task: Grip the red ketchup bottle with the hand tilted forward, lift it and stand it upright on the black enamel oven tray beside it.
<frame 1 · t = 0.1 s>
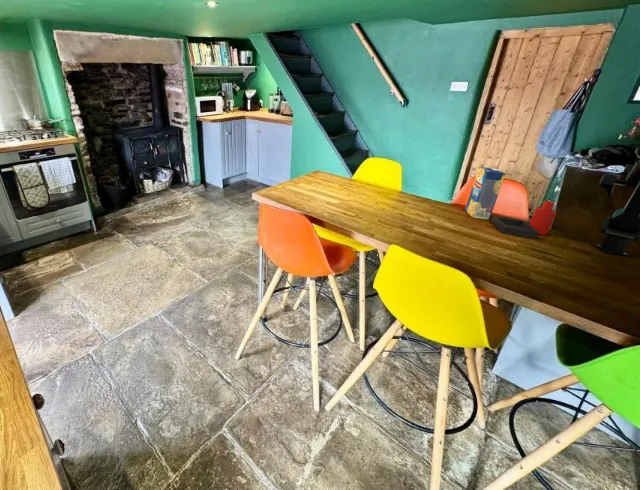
hand: (625, 199, 129), 15 cm above the worktop, tool tilted 35°, fingers open, 9 cm apart
ketchup bottle: (537, 231, 129), on the worktop
oven tray: (512, 229, 129), on the worktop
cracker box: (476, 215, 145), on the worktop
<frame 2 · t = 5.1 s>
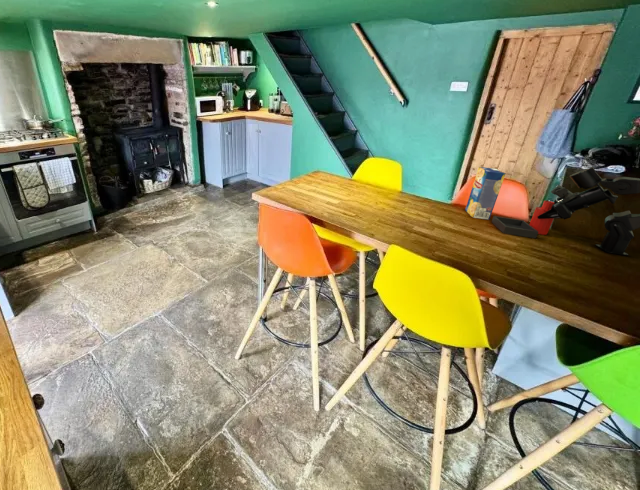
hand: (538, 215, 127), 7 cm above the worktop, tool tilted 45°, fingers closed on ketchup bottle, 6 cm apart
ketchup bottle: (537, 231, 129), on the worktop, touching gripper
everything else where it was.
when the fingers open (7 cm above the worktop, at t = 10.7 s): ketchup bottle stays where it is, resting on oven tray.
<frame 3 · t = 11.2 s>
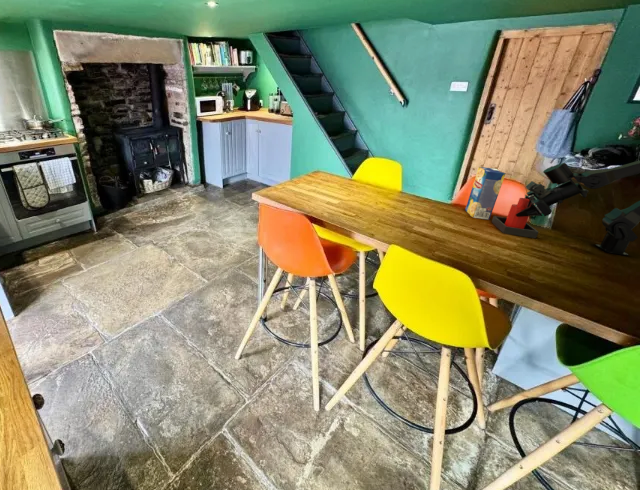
hand: (514, 212, 127), 8 cm above the worktop, tool tilted 45°, fingers open, 9 cm apart
ketchup bottle: (513, 228, 129), resting on oven tray
everything else where it was.
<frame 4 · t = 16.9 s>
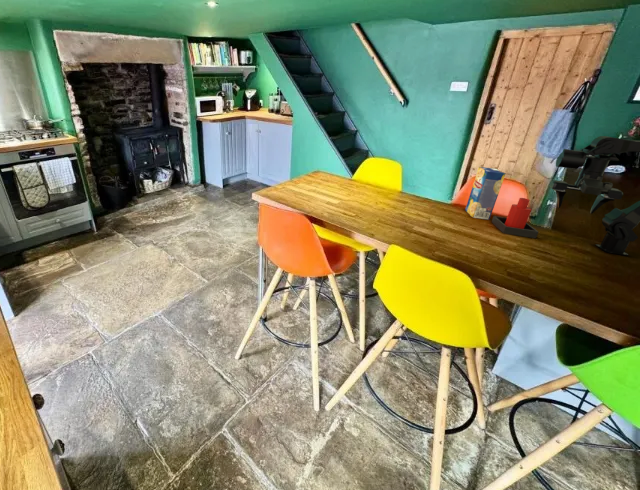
hand: (574, 210, 116), 13 cm above the worktop, tool pointing down, fingers open, 9 cm apart
nothing on the worktop moved.
at the end: ketchup bottle inside the target area in the oven tray (0.1 cm from its centre), point 0.5 cm above the oven tray's base; ketchup bottle tilted 0°; the gripper is holding nothing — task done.
